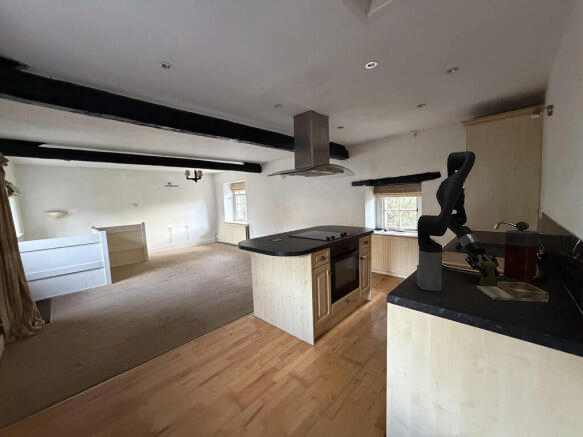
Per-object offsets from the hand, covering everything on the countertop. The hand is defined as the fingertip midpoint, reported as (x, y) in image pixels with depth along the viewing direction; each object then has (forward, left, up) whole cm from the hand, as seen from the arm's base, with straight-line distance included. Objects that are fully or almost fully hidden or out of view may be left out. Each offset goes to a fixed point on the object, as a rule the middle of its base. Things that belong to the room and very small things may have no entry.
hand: (492, 276), depth 107 cm
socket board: (+2, -9, -5) cm, 10 cm away
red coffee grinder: (+21, +15, -5) cm, 26 cm away
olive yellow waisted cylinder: (0, +2, -5) cm, 5 cm away
